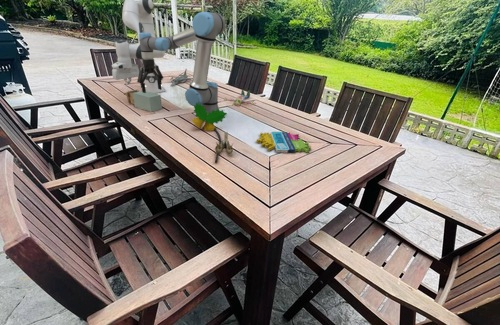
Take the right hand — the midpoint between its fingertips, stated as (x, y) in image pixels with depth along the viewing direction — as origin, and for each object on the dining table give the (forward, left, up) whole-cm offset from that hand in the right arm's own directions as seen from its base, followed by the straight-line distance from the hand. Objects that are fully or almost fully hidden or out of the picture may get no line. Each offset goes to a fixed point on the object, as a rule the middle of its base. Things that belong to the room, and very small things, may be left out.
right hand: (152, 91), depth 183 cm
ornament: (-41, -34, -14) cm, 55 cm away
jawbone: (-73, -38, -14) cm, 83 cm away
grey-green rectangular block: (+5, +4, -14) cm, 15 cm away
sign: (-67, -73, -14) cm, 100 cm away
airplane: (+88, -23, -14) cm, 92 cm away
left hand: (+19, +18, 0) cm, 26 cm away
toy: (+16, -69, -14) cm, 72 cm away
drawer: (+13, +12, -13) cm, 22 cm away
